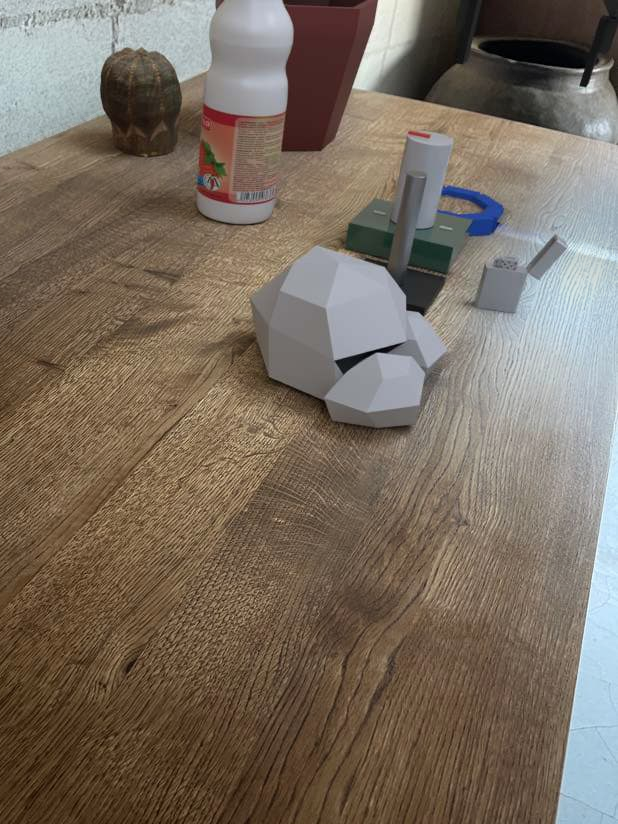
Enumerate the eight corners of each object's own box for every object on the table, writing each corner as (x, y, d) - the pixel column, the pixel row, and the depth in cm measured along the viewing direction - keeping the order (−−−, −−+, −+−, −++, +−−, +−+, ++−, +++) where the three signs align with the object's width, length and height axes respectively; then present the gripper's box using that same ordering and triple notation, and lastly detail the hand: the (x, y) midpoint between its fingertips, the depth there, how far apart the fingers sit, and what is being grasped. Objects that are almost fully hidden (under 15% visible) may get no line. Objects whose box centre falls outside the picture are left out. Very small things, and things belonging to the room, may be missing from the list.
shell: (104, 131, 132) (105, 38, 124) (181, 138, 132) (186, 46, 124) (95, 155, 123) (94, 56, 116) (176, 162, 123) (181, 64, 116)
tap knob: (438, 219, 106) (459, 134, 100) (428, 232, 102) (448, 145, 96) (397, 209, 107) (414, 125, 101) (385, 222, 103) (402, 135, 97)
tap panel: (466, 245, 108) (473, 218, 106) (447, 273, 101) (454, 245, 99) (369, 222, 112) (374, 196, 110) (344, 248, 104) (348, 221, 102)
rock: (442, 343, 88) (468, 245, 81) (439, 456, 72) (471, 345, 66) (255, 312, 90) (266, 214, 83) (213, 416, 74) (223, 305, 68)
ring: (505, 214, 118) (510, 198, 117) (486, 243, 109) (491, 227, 108) (415, 194, 121) (418, 178, 120) (390, 221, 113) (393, 204, 111)
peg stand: (444, 286, 98) (473, 171, 91) (423, 317, 92) (452, 196, 84) (364, 266, 101) (385, 152, 93) (338, 295, 94) (359, 176, 87)
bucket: (286, 106, 150) (308, -76, 134) (391, 144, 138) (429, -52, 123) (172, 126, 136) (182, -75, 121) (278, 169, 125) (304, -48, 109)
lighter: (475, 307, 95) (496, 231, 90) (474, 300, 96) (495, 224, 91) (544, 317, 94) (570, 241, 89) (542, 310, 96) (567, 235, 90)
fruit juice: (266, 231, 107) (300, -54, 89) (187, 218, 108) (205, -65, 90) (278, 204, 114) (312, -63, 96) (204, 193, 115) (224, -74, 97)
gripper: (452, -182, 89) (404, 58, 103) (723, -152, 82) (634, 101, 96) (468, -181, 95) (421, 47, 108) (724, -153, 88) (640, 87, 101)
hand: (521, 73), depth 102 cm, fingers open, 13 cm apart
